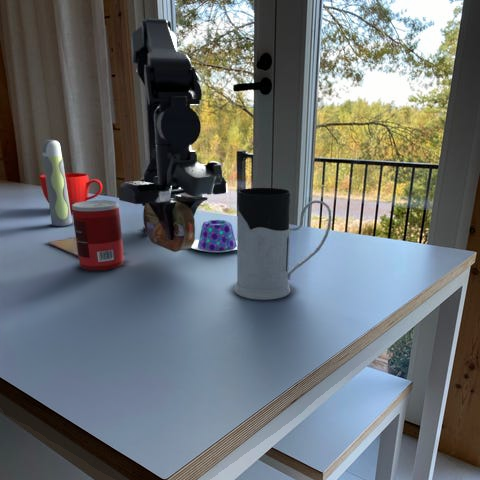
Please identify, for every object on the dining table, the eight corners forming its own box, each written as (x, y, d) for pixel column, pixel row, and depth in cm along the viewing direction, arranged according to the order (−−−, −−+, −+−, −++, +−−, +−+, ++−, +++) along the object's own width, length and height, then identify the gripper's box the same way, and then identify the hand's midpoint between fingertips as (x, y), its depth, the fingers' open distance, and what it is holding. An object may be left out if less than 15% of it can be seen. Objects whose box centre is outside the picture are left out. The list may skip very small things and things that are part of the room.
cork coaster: (79, 238, 106) (79, 237, 106) (120, 254, 93) (119, 252, 93) (48, 243, 101) (48, 242, 101) (86, 260, 89) (86, 259, 89)
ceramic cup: (98, 215, 131) (94, 178, 127) (37, 215, 131) (31, 177, 127) (110, 207, 143) (107, 173, 139) (55, 207, 143) (49, 172, 139)
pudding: (258, 247, 99) (258, 222, 97) (216, 258, 90) (216, 231, 88) (217, 238, 106) (217, 214, 104) (176, 247, 98) (174, 222, 96)
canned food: (132, 261, 89) (126, 201, 84) (108, 273, 82) (100, 208, 78) (97, 257, 91) (90, 199, 87) (70, 268, 84) (61, 206, 80)
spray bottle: (74, 225, 119) (63, 140, 111) (54, 227, 116) (41, 140, 108) (69, 222, 122) (57, 139, 115) (49, 224, 120) (36, 139, 112)
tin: (144, 239, 91) (139, 195, 88) (158, 236, 93) (154, 193, 90) (184, 257, 80) (180, 207, 77) (200, 253, 82) (197, 204, 79)
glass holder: (235, 280, 78) (235, 187, 72) (321, 281, 78) (328, 187, 72) (233, 299, 70) (232, 195, 64) (329, 300, 70) (338, 196, 64)
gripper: (151, 148, 66) (158, 257, 72) (248, 144, 78) (247, 238, 84) (112, 145, 74) (121, 244, 80) (206, 142, 85) (208, 228, 91)
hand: (177, 238), depth 83 cm, fingers closed on tin, 3 cm apart
